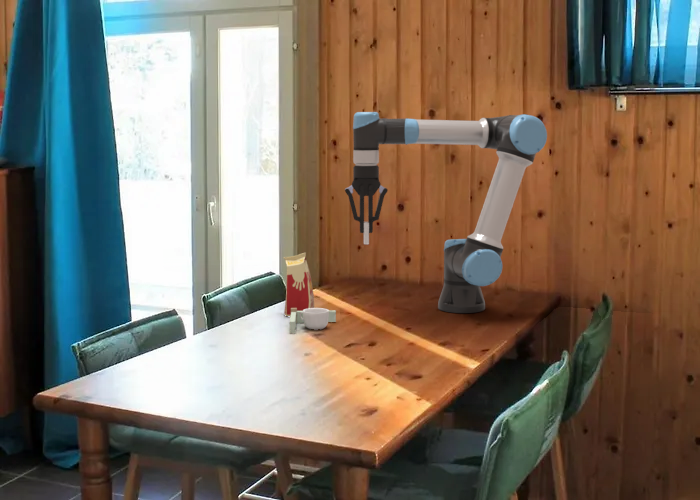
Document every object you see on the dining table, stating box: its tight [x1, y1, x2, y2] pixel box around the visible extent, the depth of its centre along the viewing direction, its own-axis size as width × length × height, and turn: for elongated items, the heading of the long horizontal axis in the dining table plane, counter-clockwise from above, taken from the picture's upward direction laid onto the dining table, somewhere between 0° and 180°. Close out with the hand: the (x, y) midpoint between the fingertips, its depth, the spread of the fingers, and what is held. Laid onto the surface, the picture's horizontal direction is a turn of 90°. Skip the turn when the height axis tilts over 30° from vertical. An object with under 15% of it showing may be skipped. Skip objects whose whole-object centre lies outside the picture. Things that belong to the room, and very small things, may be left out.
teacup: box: [299, 307, 329, 331], centre depth 266 cm, size 10×8×5 cm
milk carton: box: [282, 252, 315, 317], centre depth 283 cm, size 9×9×20 cm
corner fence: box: [289, 308, 337, 334], centre depth 266 cm, size 14×15×4 cm
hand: (366, 243), depth 268 cm, fingers closed
